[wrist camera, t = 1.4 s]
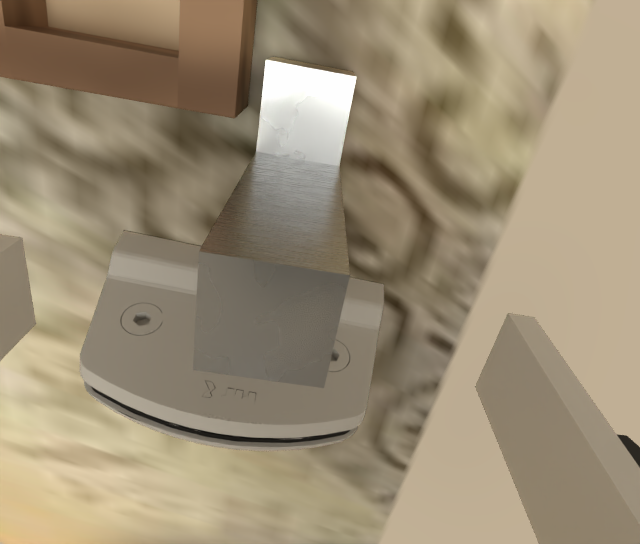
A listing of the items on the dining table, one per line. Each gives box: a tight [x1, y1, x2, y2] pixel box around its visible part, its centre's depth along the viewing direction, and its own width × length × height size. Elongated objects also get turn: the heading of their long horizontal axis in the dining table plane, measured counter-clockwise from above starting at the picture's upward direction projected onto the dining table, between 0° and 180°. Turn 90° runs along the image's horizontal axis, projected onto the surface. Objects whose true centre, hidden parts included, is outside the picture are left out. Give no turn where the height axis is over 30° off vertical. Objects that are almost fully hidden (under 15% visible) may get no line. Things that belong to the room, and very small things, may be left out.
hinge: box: [80, 230, 384, 451], centre depth 26 cm, size 17×5×10 cm, turn 77°
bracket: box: [193, 56, 356, 388], centre depth 18 cm, size 8×4×14 cm, turn 170°
